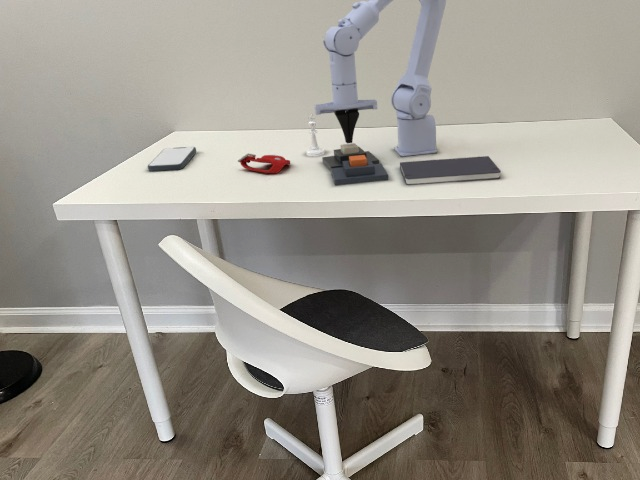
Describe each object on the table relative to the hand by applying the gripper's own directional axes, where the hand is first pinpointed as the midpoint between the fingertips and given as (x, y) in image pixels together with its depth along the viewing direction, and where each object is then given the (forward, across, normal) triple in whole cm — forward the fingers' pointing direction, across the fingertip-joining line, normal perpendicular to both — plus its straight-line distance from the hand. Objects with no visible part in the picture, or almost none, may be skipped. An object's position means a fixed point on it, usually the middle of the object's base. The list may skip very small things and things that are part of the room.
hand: (348, 142), depth 150 cm
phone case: (+6, +43, -20) cm, 48 cm away
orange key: (+3, 0, +11) cm, 11 cm away
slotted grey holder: (+5, 0, +11) cm, 12 cm away
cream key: (+3, 0, 0) cm, 3 cm away
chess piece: (+6, +7, -13) cm, 16 cm away
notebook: (+6, -20, +16) cm, 26 cm away
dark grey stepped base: (+5, 0, 0) cm, 5 cm away
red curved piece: (+6, +20, -4) cm, 21 cm away
